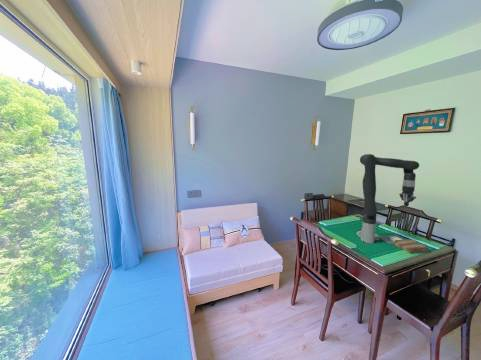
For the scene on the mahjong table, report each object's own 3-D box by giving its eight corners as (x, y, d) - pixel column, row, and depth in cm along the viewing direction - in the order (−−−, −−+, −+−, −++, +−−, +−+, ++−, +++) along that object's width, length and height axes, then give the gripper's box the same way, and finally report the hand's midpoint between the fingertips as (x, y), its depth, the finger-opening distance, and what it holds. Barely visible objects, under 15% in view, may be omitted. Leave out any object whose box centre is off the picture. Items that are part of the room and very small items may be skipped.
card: (389, 238, 167) (389, 236, 167) (396, 238, 167) (396, 236, 167) (398, 243, 158) (399, 241, 158) (405, 243, 158) (405, 241, 158)
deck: (394, 244, 158) (394, 240, 157) (410, 243, 159) (410, 239, 158) (410, 253, 144) (411, 248, 143) (427, 252, 145) (428, 247, 144)
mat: (376, 236, 173) (376, 236, 173) (397, 235, 174) (397, 235, 174) (389, 243, 159) (389, 243, 159) (411, 242, 160) (411, 242, 160)
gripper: (396, 184, 159) (394, 204, 162) (412, 187, 146) (409, 208, 149) (405, 183, 160) (403, 203, 163) (421, 186, 147) (418, 208, 150)
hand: (406, 206), depth 156 cm, fingers closed
